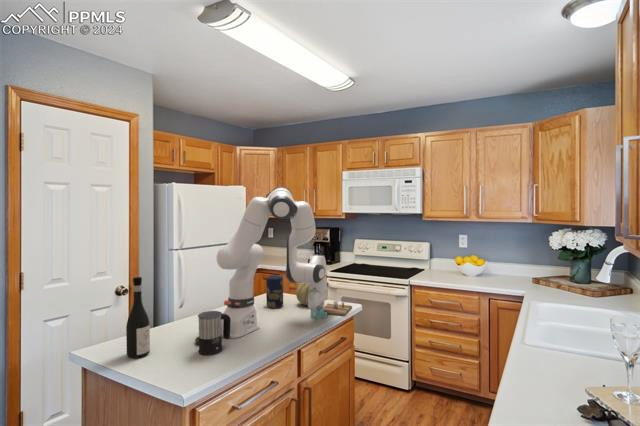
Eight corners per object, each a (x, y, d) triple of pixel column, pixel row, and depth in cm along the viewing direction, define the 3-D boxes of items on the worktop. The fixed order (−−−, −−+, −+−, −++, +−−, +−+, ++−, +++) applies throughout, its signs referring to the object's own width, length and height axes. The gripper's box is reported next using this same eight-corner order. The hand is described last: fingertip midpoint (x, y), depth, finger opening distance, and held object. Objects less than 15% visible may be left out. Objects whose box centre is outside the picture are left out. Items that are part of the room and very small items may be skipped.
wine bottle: (154, 351, 146) (153, 275, 145) (141, 359, 138) (140, 280, 138) (135, 350, 148) (134, 275, 147) (122, 358, 140) (120, 279, 139)
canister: (280, 309, 204) (280, 276, 204) (263, 308, 206) (263, 276, 206) (285, 304, 214) (285, 273, 213) (269, 303, 215) (269, 272, 215)
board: (344, 316, 192) (344, 306, 191) (318, 313, 196) (318, 304, 196) (351, 307, 207) (351, 299, 206) (327, 305, 211) (327, 297, 211)
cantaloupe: (303, 300, 223) (303, 275, 222) (325, 303, 216) (325, 277, 216) (291, 306, 209) (291, 280, 209) (314, 309, 203) (314, 282, 203)
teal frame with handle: (310, 317, 189) (310, 309, 189) (314, 314, 194) (314, 307, 194) (325, 319, 187) (325, 311, 187) (328, 316, 192) (328, 308, 192)
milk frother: (212, 357, 141) (212, 318, 140) (179, 351, 146) (178, 314, 146) (234, 344, 154) (233, 308, 154) (202, 339, 160) (202, 304, 159)
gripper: (316, 290, 179) (316, 319, 180) (329, 282, 199) (330, 308, 199) (304, 289, 181) (304, 318, 182) (318, 281, 201) (318, 307, 201)
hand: (318, 312), depth 190 cm, fingers open, 8 cm apart
